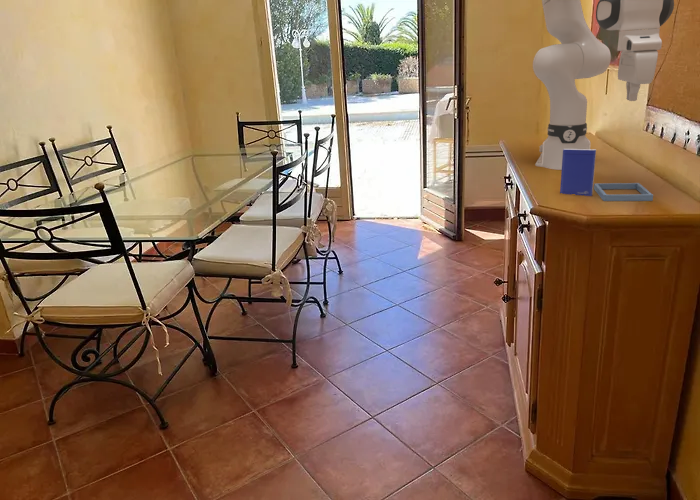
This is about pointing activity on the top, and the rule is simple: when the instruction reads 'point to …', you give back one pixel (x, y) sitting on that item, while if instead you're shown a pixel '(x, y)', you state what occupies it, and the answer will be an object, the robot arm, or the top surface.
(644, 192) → the frame
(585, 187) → the hard drive
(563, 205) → the top surface
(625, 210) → the top surface
